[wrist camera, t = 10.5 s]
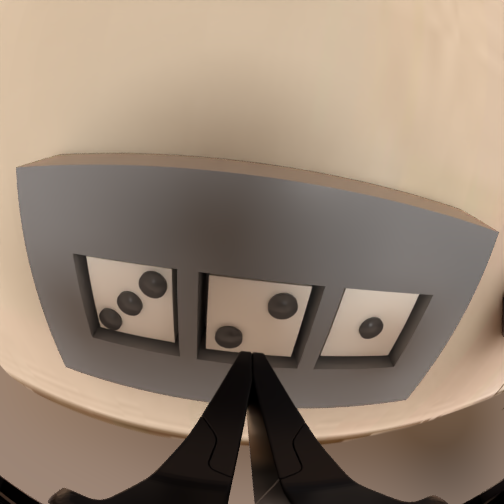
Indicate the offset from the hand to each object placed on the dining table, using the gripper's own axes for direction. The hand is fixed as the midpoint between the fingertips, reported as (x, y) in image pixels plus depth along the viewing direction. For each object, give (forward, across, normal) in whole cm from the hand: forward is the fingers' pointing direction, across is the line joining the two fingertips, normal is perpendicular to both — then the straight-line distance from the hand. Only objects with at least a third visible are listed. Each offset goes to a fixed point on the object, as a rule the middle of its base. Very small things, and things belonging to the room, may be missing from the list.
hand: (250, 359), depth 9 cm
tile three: (+4, +5, 0) cm, 7 cm away
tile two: (+4, 0, 0) cm, 4 cm away
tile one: (+4, -6, 0) cm, 7 cm away
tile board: (+5, 0, 0) cm, 5 cm away
